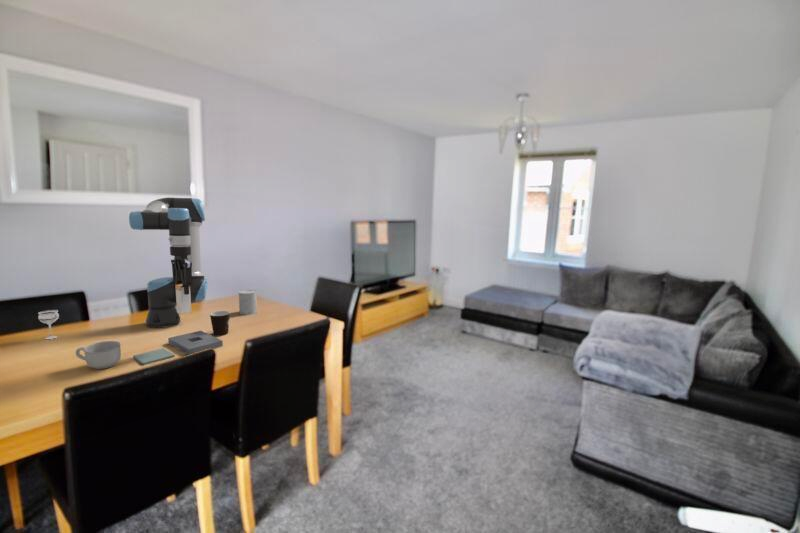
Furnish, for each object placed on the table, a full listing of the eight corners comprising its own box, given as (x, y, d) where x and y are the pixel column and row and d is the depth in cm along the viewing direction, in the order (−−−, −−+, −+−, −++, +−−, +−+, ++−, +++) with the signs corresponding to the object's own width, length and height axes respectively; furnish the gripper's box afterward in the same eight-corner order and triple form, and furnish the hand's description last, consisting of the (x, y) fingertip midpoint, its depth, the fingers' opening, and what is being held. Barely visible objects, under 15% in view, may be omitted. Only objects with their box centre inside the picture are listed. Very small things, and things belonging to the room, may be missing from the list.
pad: (133, 357, 150) (132, 355, 150) (163, 349, 159) (163, 348, 159) (143, 365, 144) (143, 363, 144) (174, 356, 153) (174, 354, 152)
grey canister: (260, 312, 219) (260, 291, 217) (246, 315, 211) (245, 294, 209) (250, 309, 224) (249, 289, 222) (235, 312, 216) (235, 291, 214)
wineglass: (65, 336, 171) (62, 310, 169) (47, 341, 164) (44, 314, 163) (54, 334, 173) (51, 309, 171) (36, 339, 166) (33, 313, 164)
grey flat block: (168, 343, 167) (168, 338, 166) (200, 335, 178) (200, 330, 177) (189, 355, 155) (188, 349, 154) (222, 346, 166) (222, 340, 165)
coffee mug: (222, 337, 176) (222, 316, 175) (206, 335, 178) (205, 315, 177) (238, 329, 188) (237, 310, 186) (222, 328, 189) (222, 308, 188)
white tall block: (177, 312, 160) (175, 284, 158) (186, 310, 163) (185, 283, 161) (181, 314, 157) (179, 286, 155) (191, 312, 160) (189, 284, 159)
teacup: (128, 360, 148) (127, 340, 147) (108, 372, 137) (106, 351, 136) (92, 359, 147) (90, 340, 146) (68, 371, 137) (66, 350, 135)
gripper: (161, 244, 158) (164, 299, 161) (180, 248, 148) (183, 306, 151) (180, 243, 164) (183, 296, 167) (199, 246, 154) (202, 302, 157)
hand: (183, 300), depth 159 cm, fingers closed on white tall block, 4 cm apart
